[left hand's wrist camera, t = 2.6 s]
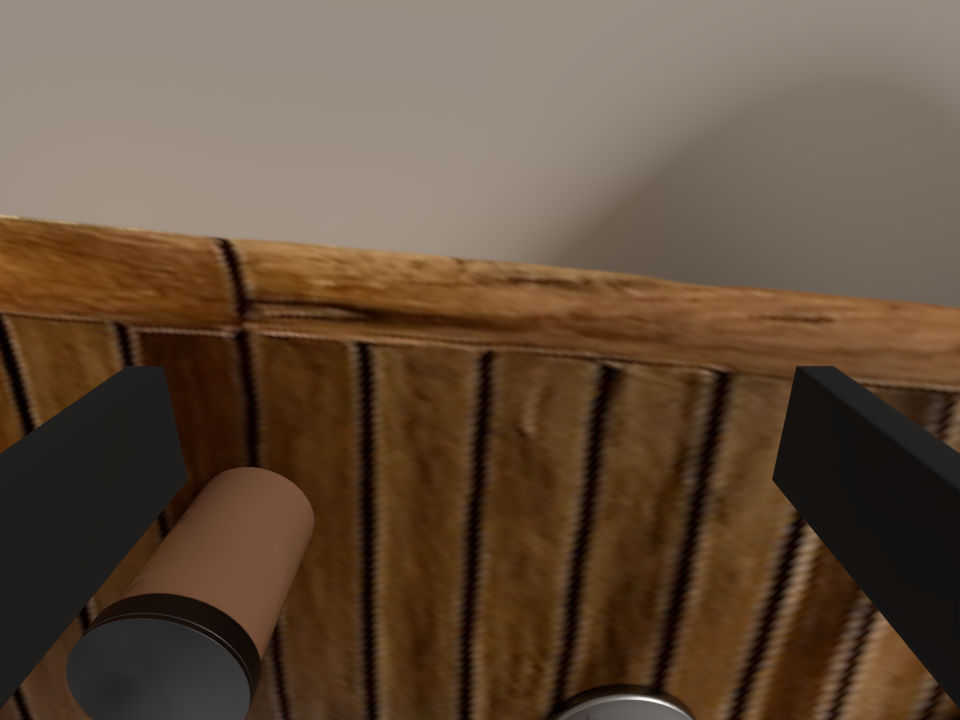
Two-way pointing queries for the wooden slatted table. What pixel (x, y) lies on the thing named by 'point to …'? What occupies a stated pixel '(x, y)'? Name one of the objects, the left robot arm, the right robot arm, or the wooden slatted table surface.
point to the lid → (164, 662)
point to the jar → (235, 549)
